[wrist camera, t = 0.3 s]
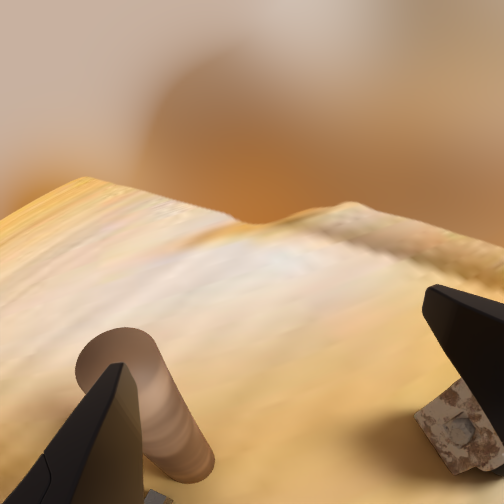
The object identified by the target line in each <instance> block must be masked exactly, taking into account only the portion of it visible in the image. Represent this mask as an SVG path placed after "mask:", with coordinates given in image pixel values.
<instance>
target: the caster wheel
mask: <svg viewBox="0 0 504 504" xmlns="http://www.w3.org/2000/svg"><path fill="white" fill-rule="evenodd" d="M414 418H415V420H416V421H417V423H418V424H419V425H420V427H421V428H422V430H423V431H424V433H425V434H426V436H427V437H428V439H429V440H430V442H431V443H432V445H433V446H434V448H435V449H436V451H437V452H438V454H439V455H440V457H441V458H442V460H443V461H444V463H445V464H446V466H447V467H448V469H449V470H450V471H451V473H452V474H454V475H457V474H459V473H462V472H464V471H467V470H469V469H471V468H473V467H477V468H479V469H481V470H483V471H492V472H493V473H495V474H497V475H500V476H504V447H503V445H502V442H501V441H500V439H499V437H498V436H497V434H496V432H495V430H494V429H493V427H492V425H491V423H490V422H489V420H488V418H487V417H486V415H485V413H484V412H483V410H482V409H481V407H480V405H479V404H478V402H477V401H476V399H475V397H474V396H473V394H472V393H471V391H470V390H469V388H468V386H467V385H466V383H465V382H464V380H463V379H462V377H461V378H460V379H459V380H457V381H456V382H454V383H453V384H452V385H451V386H450V387H449V388H448V389H447V390H446V391H444V392H443V393H442V394H441V395H439V396H438V397H437V398H435V399H434V400H433V401H431V402H430V403H429V404H427V405H426V406H425V407H423V408H422V409H421V410H419V411H418V412H416V413H415V414H414Z"/></svg>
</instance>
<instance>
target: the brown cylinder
mask: <svg viewBox="0 0 504 504" xmlns="http://www.w3.org/2000/svg"><path fill="white" fill-rule="evenodd" d="M116 362H125V363H126V365H127V366H128V368H129V370H130V372H131V374H132V376H133V378H134V380H135V382H136V384H137V389H138V400H139V410H140V420H141V429H142V442H143V454H144V455H145V456H146V457H147V458H148V459H150V460H151V461H152V462H153V463H154V464H155V465H156V466H158V467H159V468H160V469H161V470H162V471H163V472H165V473H166V474H167V475H168V476H170V477H171V478H172V479H174V480H175V481H177V482H180V483H185V484H192V483H197V482H200V481H202V480H204V479H205V478H206V477H207V476H209V474H210V473H211V472H212V470H213V468H214V464H215V457H214V454H213V451H212V450H211V448H210V446H209V444H208V443H207V441H206V439H205V438H204V436H203V434H202V432H201V431H200V429H199V427H198V425H197V424H196V422H195V420H194V418H193V417H192V415H191V413H190V411H189V409H188V407H187V405H186V404H185V402H184V400H183V398H182V396H181V394H180V392H179V390H178V388H177V386H176V384H175V382H174V380H173V378H172V376H171V374H170V372H169V370H168V368H167V366H166V364H165V362H164V360H163V358H162V356H161V353H160V351H159V349H158V347H157V345H156V343H155V341H154V339H153V338H152V337H151V336H150V335H149V334H147V333H146V332H144V331H142V330H139V329H136V328H128V327H124V328H116V329H112V330H109V331H106V332H104V333H102V334H100V335H98V336H97V337H95V338H94V339H92V340H91V341H90V342H89V343H88V344H87V345H86V346H85V347H84V349H83V350H82V351H81V353H80V355H79V357H78V359H77V362H76V367H75V375H76V380H77V383H78V385H79V386H80V388H81V389H82V390H83V392H84V393H85V394H87V392H88V391H89V390H90V388H91V387H92V386H93V385H94V383H95V382H96V381H97V379H98V378H99V377H100V376H101V374H102V373H103V372H104V371H105V369H106V368H107V367H108V365H109V364H111V363H116Z"/></svg>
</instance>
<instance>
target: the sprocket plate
mask: <svg viewBox="0 0 504 504" xmlns="http://www.w3.org/2000/svg"><path fill="white" fill-rule="evenodd" d="M172 502H173V500H171V499H170V498H168V497H166V496H164V495H162V494H160V493H158V492H156V491H154V490H152V489H150V491H149V492H148V494H147V496H146V498H145V499H144V504H172Z"/></svg>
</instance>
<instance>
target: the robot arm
mask: <svg viewBox="0 0 504 504" xmlns="http://www.w3.org/2000/svg"><path fill="white" fill-rule="evenodd" d="M422 314H423V316H424V318H425V320H426V321H427V323H428V325H429V326H430V328H431V330H432V332H433V333H434V335H435V337H436V338H437V340H438V342H439V344H440V346H441V347H442V349H443V351H444V352H445V354H446V355H447V357H448V358H449V360H450V361H451V362H452V364H453V365H454V367H455V368H456V370H457V371H458V373H459V374H460V376H461V377H462V379H463V380H464V382H465V383H466V385H467V386H468V388H469V390H470V391H471V393H472V394H473V396H474V397H475V399H476V401H477V402H478V404H479V405H480V407H481V409H482V410H483V412H484V413H485V415H486V417H487V418H488V420H489V422H490V423H491V425H492V427H493V429H494V430H495V432H496V434H497V436H498V437H499V439H500V441H501V442H502V445H503V447H504V304H503V303H500V302H497V301H493V300H490V299H487V298H483V297H480V296H477V295H473V294H470V293H466V292H463V291H460V290H456V289H453V288H450V287H446V286H443V285H439V284H436V285H433V286H430V287H428V288H427V289H426V292H425V297H424V301H423V306H422ZM2 504H144V485H143V442H142V429H141V420H140V410H139V400H138V389H137V384H136V382H135V380H134V378H133V376H132V374H131V372H130V370H129V368H128V366H127V365H126V363H125V362H116V363H111V364H109V365H108V367H107V368H106V369H105V371H104V372H103V373H102V374H101V376H100V377H99V378H98V379H97V381H96V382H95V383H94V385H93V386H92V387H91V388H90V390H89V391H88V392H87V394H86V395H85V396H84V398H83V399H82V400H81V402H80V403H79V404H78V405H77V407H76V408H75V409H74V411H73V412H72V413H71V415H70V416H69V417H68V419H67V420H66V421H65V423H64V424H63V425H62V427H61V428H60V430H59V431H58V432H57V434H56V435H55V436H54V438H53V439H52V440H51V442H50V443H49V445H48V446H47V447H46V449H45V450H44V454H43V453H42V454H41V455H40V457H39V458H38V460H37V461H36V462H35V464H34V465H33V466H32V468H31V469H30V471H29V472H28V473H27V475H26V476H25V477H24V478H23V480H22V481H21V482H20V483H19V484H18V486H17V487H16V488H15V489H14V490H13V492H12V493H11V494H10V495H9V496H8V497H7V498H6V500H5V501H4V502H3V503H2Z"/></svg>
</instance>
